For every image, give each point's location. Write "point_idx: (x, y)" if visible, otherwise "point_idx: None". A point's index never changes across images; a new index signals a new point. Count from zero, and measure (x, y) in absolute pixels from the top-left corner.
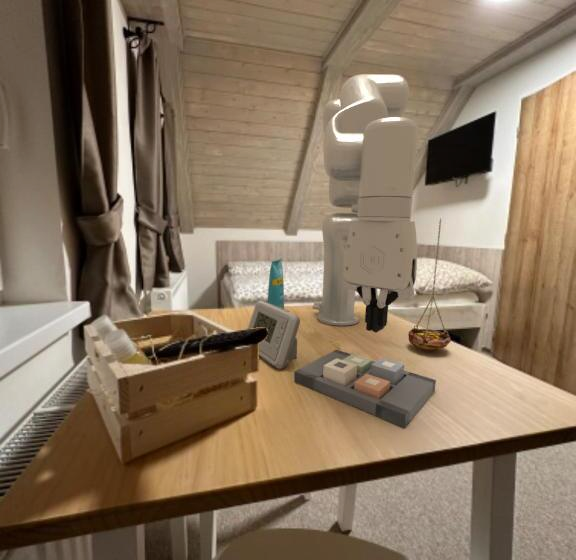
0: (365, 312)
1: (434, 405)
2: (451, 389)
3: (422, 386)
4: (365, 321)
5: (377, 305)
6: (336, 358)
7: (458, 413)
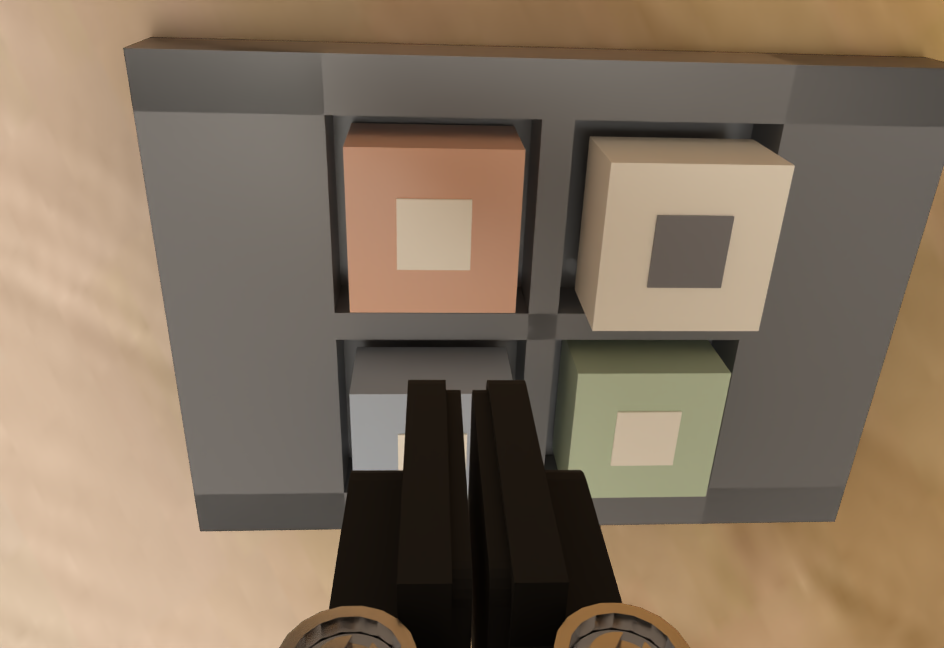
0: (605, 546)
1: (151, 359)
2: (163, 550)
3: (218, 423)
4: (576, 472)
5: (406, 630)
6: (757, 326)
7: (33, 363)
